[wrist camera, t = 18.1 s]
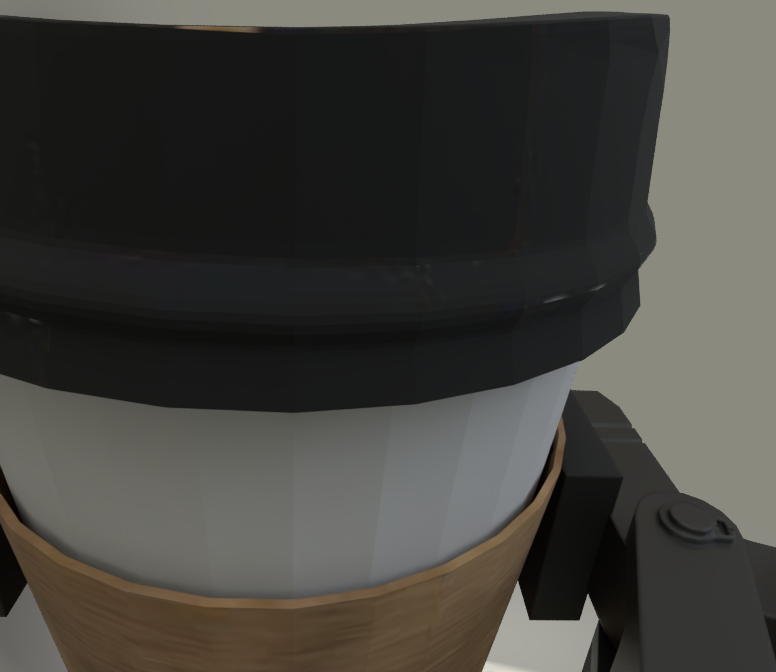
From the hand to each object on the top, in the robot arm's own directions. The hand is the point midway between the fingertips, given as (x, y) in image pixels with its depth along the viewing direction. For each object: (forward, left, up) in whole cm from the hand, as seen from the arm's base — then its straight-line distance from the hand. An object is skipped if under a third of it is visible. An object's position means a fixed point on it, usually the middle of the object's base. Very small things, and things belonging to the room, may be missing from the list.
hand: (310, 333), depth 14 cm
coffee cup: (-2, +5, -9) cm, 10 cm away
